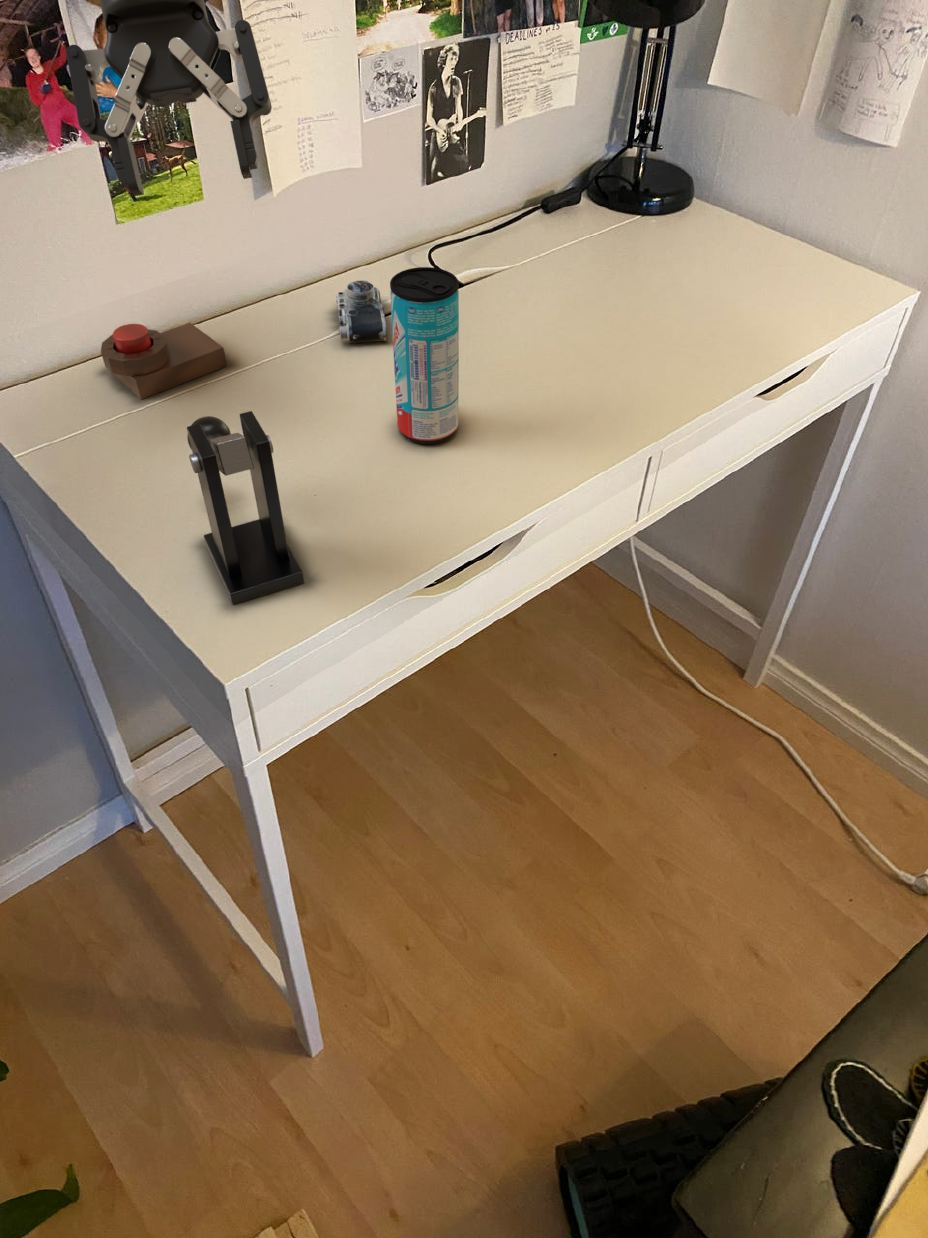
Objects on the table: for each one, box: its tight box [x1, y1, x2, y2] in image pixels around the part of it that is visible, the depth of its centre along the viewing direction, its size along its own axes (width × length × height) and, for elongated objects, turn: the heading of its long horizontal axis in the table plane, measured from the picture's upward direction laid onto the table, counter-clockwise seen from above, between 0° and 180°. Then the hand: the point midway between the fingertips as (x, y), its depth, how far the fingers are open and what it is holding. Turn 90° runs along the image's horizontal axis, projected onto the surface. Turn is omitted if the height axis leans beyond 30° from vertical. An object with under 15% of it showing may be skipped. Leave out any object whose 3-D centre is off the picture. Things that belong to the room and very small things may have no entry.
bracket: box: [186, 410, 305, 605], centre depth 74 cm, size 8×6×13 cm
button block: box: [100, 322, 228, 400], centre depth 99 cm, size 11×7×4 cm, turn 131°
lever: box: [186, 415, 254, 477], centre depth 76 cm, size 13×4×4 cm, turn 26°
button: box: [112, 323, 151, 354], centre depth 96 cm, size 3×3×2 cm
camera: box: [335, 280, 388, 343], centre depth 106 cm, size 5×10×4 cm, turn 8°
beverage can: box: [389, 266, 460, 445], centre depth 87 cm, size 6×6×15 cm
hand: (192, 184), depth 74 cm, fingers open, 8 cm apart
